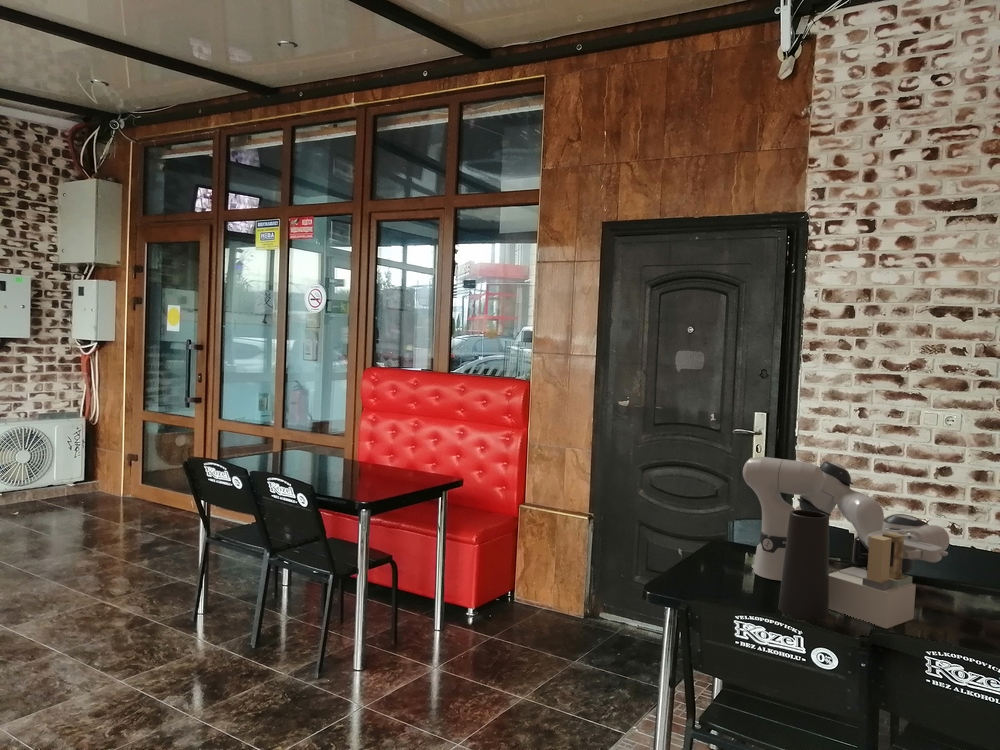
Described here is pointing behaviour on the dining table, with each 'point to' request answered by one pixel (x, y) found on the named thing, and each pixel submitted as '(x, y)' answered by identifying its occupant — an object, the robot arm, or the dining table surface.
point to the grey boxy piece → (873, 589)
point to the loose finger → (896, 555)
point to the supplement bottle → (860, 553)
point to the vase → (806, 567)
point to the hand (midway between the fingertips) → (890, 550)
